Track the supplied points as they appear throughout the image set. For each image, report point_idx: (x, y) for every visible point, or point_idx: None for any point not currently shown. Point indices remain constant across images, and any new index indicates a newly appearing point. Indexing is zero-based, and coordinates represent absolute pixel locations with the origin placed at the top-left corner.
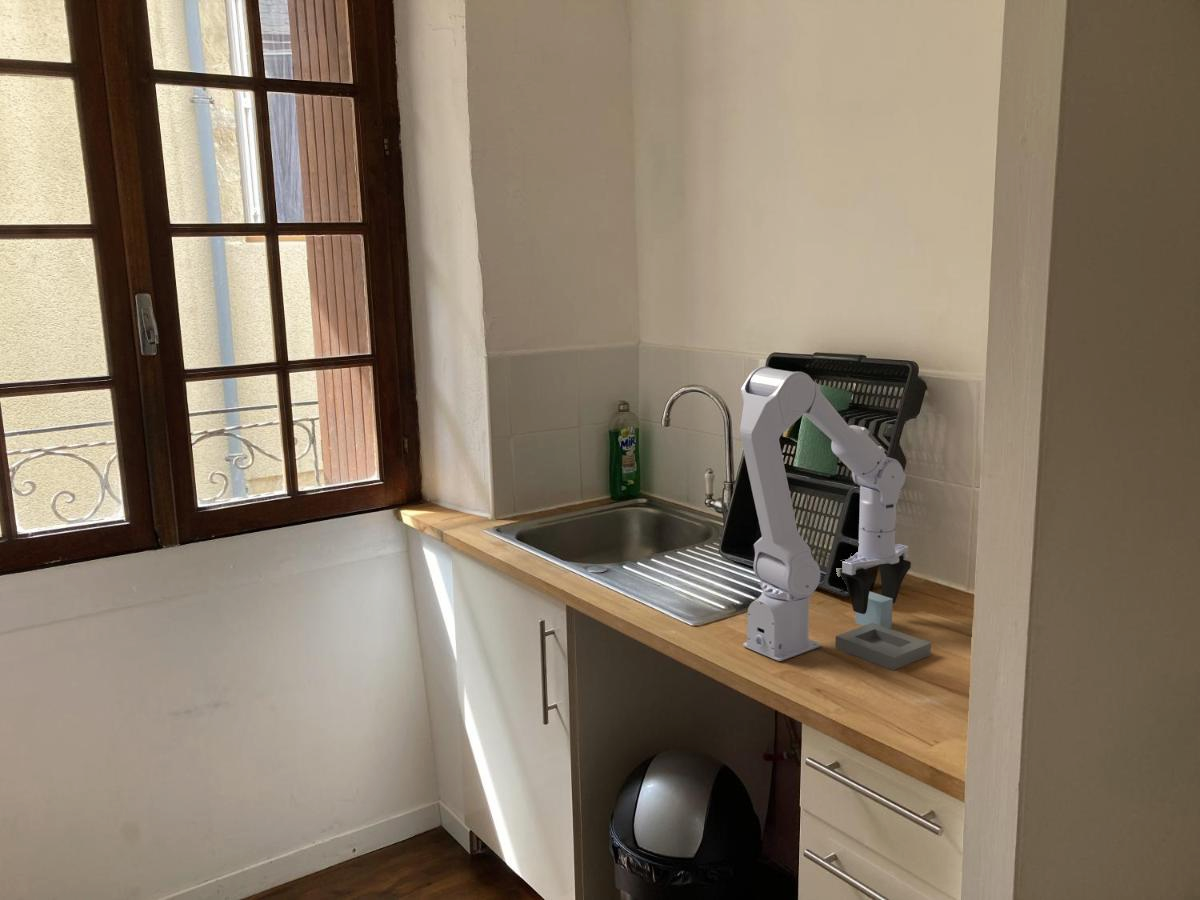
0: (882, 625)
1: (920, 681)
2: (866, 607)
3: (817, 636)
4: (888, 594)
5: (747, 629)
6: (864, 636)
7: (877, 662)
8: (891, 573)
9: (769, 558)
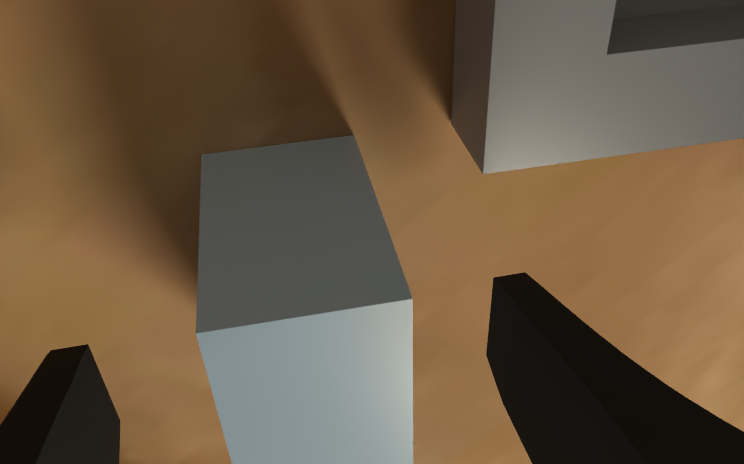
0: (330, 161)
1: None
2: (530, 307)
3: (717, 258)
4: (92, 446)
5: None
6: (720, 26)
7: None
8: None
9: None
